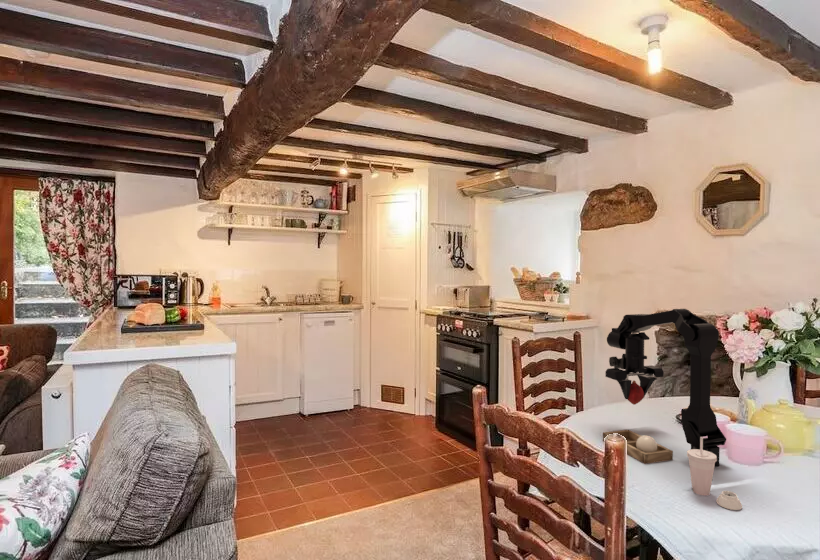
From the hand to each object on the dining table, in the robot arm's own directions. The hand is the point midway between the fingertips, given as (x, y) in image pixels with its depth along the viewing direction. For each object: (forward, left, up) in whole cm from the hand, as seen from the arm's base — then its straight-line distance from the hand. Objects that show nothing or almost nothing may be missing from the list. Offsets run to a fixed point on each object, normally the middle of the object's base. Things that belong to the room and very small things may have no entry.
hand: (634, 398), depth 161 cm
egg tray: (-14, +11, -12) cm, 22 cm away
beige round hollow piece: (-46, +12, -12) cm, 49 cm away
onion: (0, 0, -2) cm, 2 cm away
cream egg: (-18, +11, -11) cm, 24 cm away
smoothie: (-39, +13, -12) cm, 43 cm away
